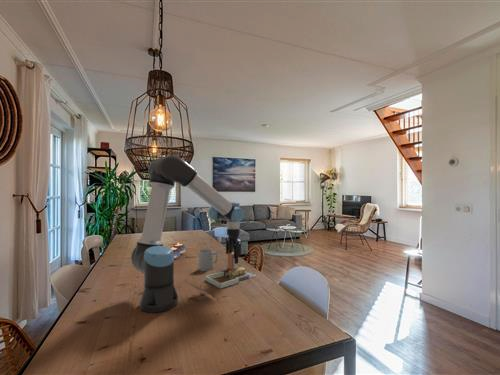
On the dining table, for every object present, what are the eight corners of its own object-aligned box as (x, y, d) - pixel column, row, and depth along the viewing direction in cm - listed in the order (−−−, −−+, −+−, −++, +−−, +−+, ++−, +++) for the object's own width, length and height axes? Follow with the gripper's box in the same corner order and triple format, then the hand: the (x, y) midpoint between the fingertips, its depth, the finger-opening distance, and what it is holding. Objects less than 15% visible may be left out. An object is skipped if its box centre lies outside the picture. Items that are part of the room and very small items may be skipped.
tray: (220, 290, 120) (220, 283, 120) (205, 282, 131) (205, 276, 131) (238, 285, 127) (238, 278, 127) (223, 277, 138) (223, 271, 138)
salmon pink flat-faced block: (231, 270, 146) (232, 254, 146) (227, 268, 149) (228, 253, 150) (237, 268, 149) (237, 253, 149) (233, 267, 152) (233, 252, 152)
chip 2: (239, 277, 134) (239, 270, 134) (235, 275, 137) (235, 268, 137) (245, 276, 136) (245, 268, 136) (241, 274, 139) (241, 267, 139)
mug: (202, 272, 147) (201, 253, 147) (196, 268, 154) (196, 250, 154) (220, 268, 153) (220, 250, 153) (214, 265, 160) (214, 247, 160)
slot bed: (236, 283, 128) (236, 278, 128) (225, 278, 136) (225, 273, 136) (256, 277, 137) (256, 272, 137) (245, 272, 145) (245, 268, 145)
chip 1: (233, 279, 131) (233, 272, 131) (228, 277, 134) (228, 270, 134) (239, 278, 133) (239, 270, 133) (234, 276, 137) (234, 268, 137)
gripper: (247, 229, 145) (247, 270, 145) (230, 226, 159) (229, 263, 158) (236, 230, 141) (236, 272, 140) (220, 227, 154) (219, 265, 154)
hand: (233, 267), depth 149 cm, fingers closed on salmon pink flat-faced block, 4 cm apart
